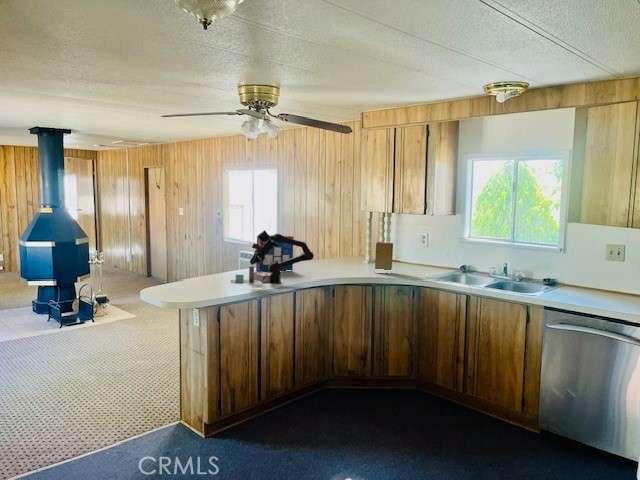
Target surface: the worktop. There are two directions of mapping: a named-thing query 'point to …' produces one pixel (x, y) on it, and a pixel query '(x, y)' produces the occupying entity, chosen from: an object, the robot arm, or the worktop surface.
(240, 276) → the teal block
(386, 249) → the food packaging
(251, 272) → the walnut strip
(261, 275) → the candy bar box
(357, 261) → the worktop surface
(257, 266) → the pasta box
